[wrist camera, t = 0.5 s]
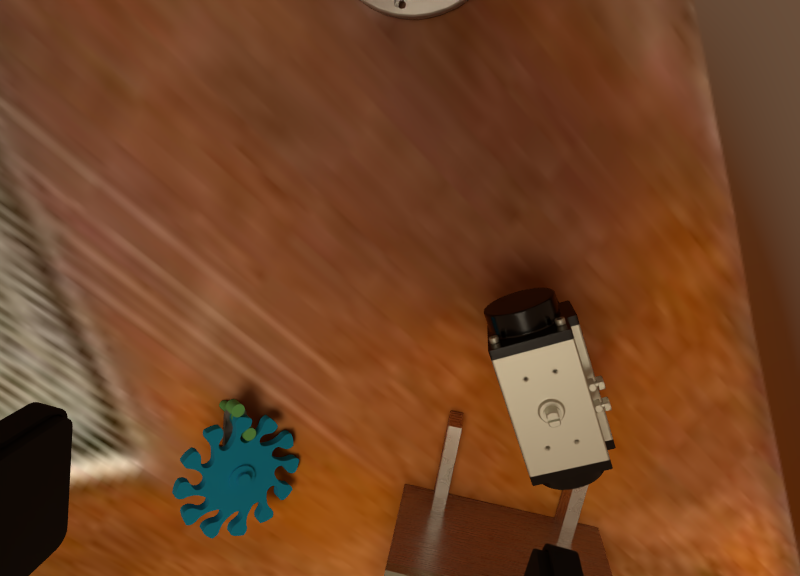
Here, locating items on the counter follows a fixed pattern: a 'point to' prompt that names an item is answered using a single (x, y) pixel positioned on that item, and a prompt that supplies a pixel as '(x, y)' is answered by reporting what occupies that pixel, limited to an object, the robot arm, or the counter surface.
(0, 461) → the robot arm
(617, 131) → the counter surface
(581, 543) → the motor
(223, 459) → the teal lobed piece
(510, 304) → the pneumatic valve
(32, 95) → the counter surface
